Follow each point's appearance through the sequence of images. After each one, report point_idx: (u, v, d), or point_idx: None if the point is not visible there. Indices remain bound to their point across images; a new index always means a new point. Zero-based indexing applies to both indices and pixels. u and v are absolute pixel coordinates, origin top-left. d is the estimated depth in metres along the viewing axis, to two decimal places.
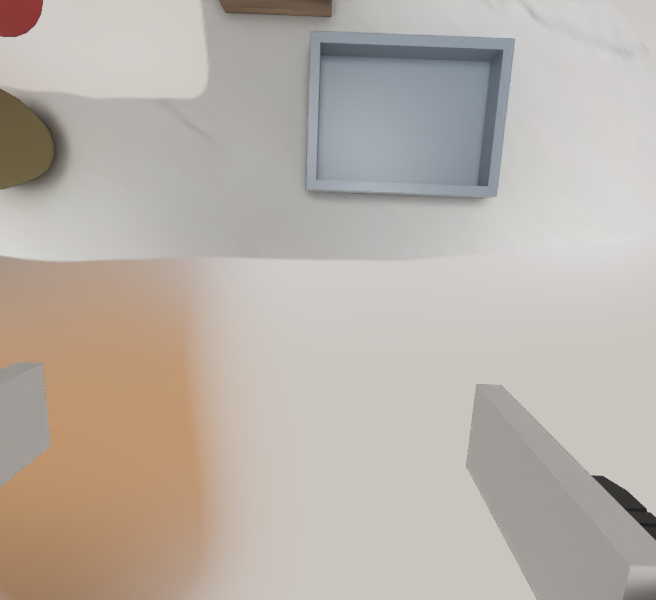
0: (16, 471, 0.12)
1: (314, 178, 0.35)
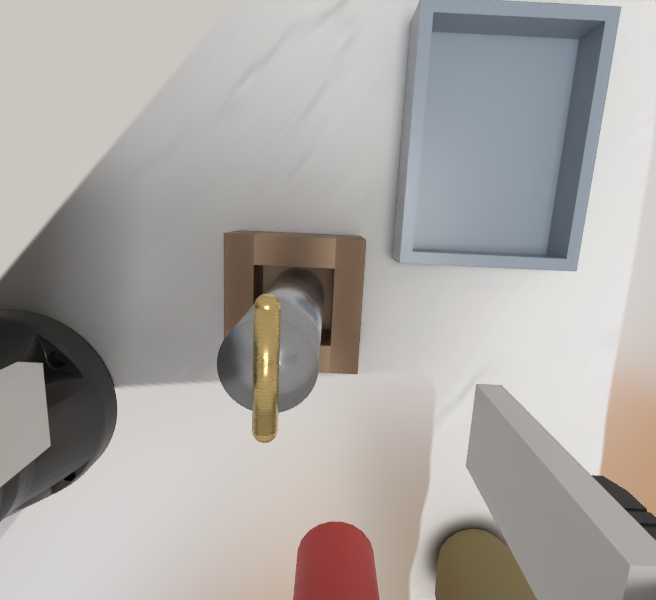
0: (15, 471, 0.12)
1: (564, 260, 0.28)
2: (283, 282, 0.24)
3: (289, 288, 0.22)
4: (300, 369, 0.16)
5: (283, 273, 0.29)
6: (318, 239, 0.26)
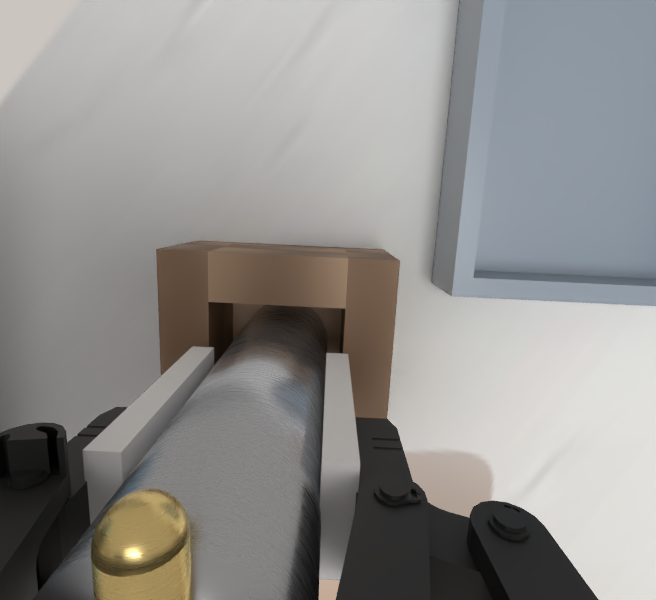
0: None
1: None
2: (255, 341, 0.13)
3: (261, 363, 0.11)
4: None
5: (263, 310, 0.18)
6: (318, 259, 0.15)
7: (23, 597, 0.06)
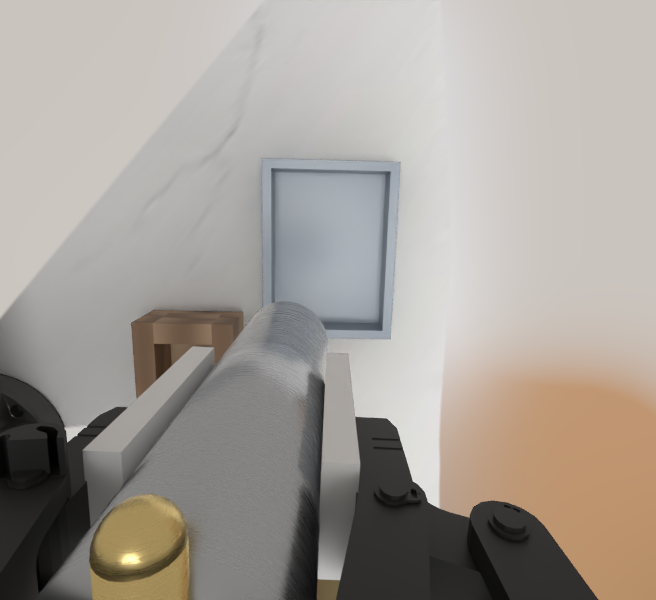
0: None
1: (381, 332, 0.39)
2: (254, 343, 0.13)
3: (260, 365, 0.11)
4: None
5: (262, 312, 0.18)
6: (198, 325, 0.37)
7: (23, 597, 0.06)
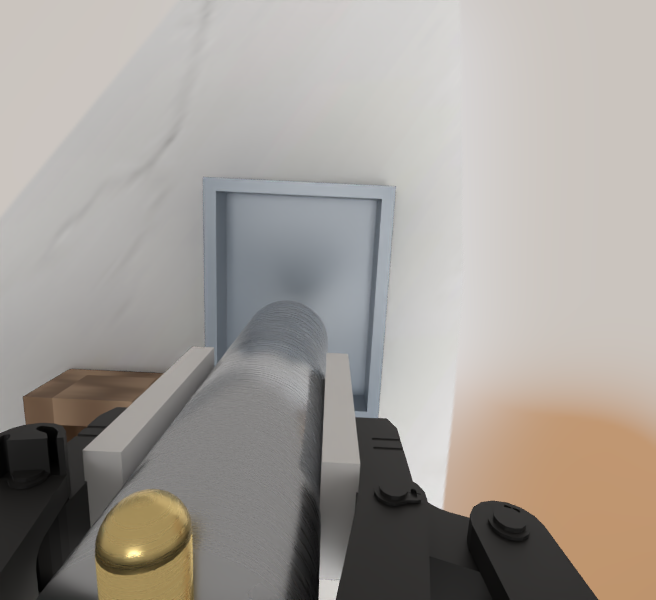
0: None
1: (365, 413, 0.29)
2: (255, 342, 0.14)
3: (261, 364, 0.12)
4: None
5: (263, 311, 0.18)
6: (114, 402, 0.27)
7: (23, 597, 0.06)
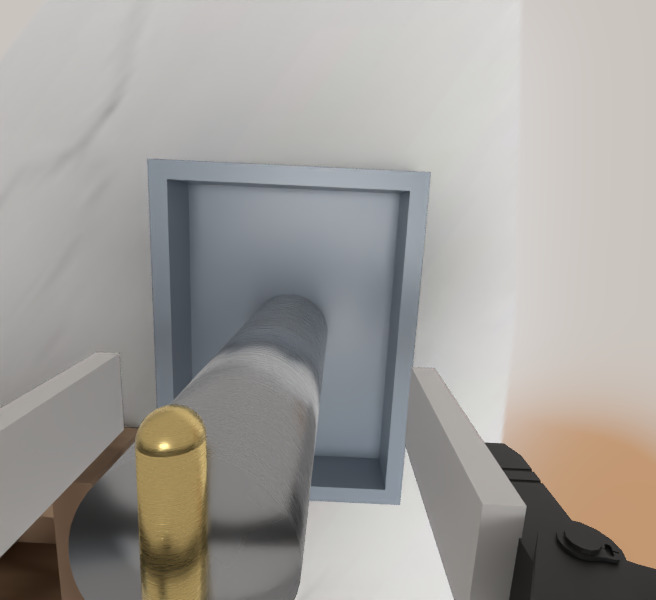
0: (99, 451, 0.13)
1: (383, 491, 0.21)
2: (259, 325, 0.15)
3: (264, 341, 0.13)
4: (260, 568, 0.07)
5: (267, 303, 0.20)
6: None
7: None
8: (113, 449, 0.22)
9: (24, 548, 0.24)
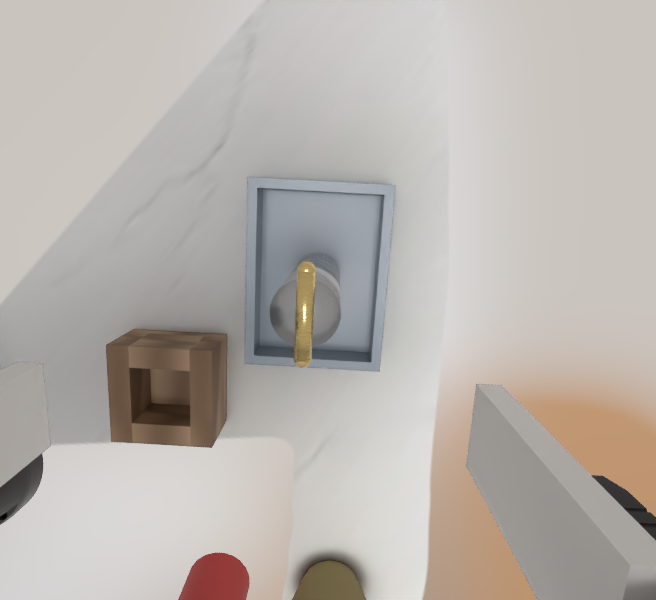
0: (15, 471, 0.12)
1: (370, 363, 0.37)
2: (309, 261, 0.31)
3: (315, 264, 0.29)
4: (328, 316, 0.23)
5: (307, 256, 0.36)
6: (176, 350, 0.35)
7: None
8: (216, 341, 0.38)
9: (156, 405, 0.40)
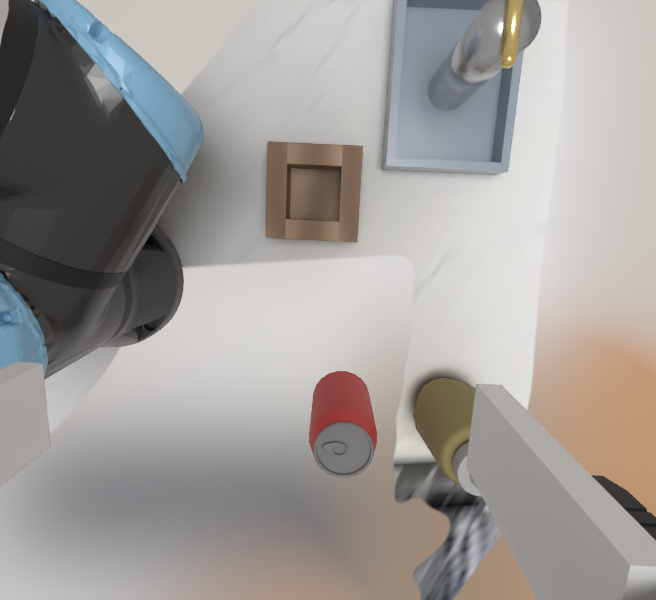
0: (15, 471, 0.12)
1: (499, 163, 0.41)
2: None
3: None
4: (530, 22, 0.27)
5: None
6: (330, 145, 0.39)
7: None
8: None
9: (296, 219, 0.44)
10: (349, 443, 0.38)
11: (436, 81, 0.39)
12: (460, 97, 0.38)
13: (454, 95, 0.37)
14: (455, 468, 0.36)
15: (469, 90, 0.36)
